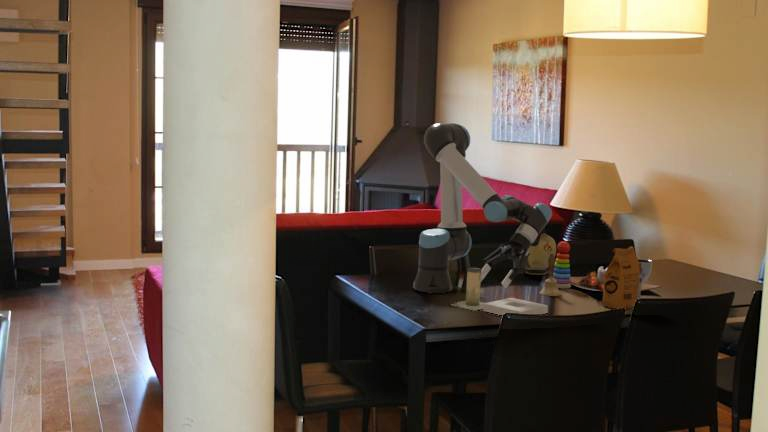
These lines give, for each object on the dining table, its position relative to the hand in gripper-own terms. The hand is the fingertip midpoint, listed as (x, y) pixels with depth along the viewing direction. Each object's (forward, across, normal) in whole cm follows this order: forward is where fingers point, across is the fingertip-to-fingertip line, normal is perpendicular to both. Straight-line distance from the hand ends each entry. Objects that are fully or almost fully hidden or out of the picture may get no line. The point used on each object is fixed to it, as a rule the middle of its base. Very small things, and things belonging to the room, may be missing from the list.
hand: (490, 282), depth 319 cm
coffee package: (-23, -25, -36) cm, 49 cm away
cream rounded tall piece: (-37, +39, -49) cm, 73 cm away
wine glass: (-35, -19, -48) cm, 62 cm away
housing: (+7, -15, -5) cm, 17 cm away
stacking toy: (-28, +11, -40) cm, 50 cm away
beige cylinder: (+11, 0, +1) cm, 11 cm away
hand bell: (-18, +3, -30) cm, 35 cm away
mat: (+12, 0, 0) cm, 12 cm away
